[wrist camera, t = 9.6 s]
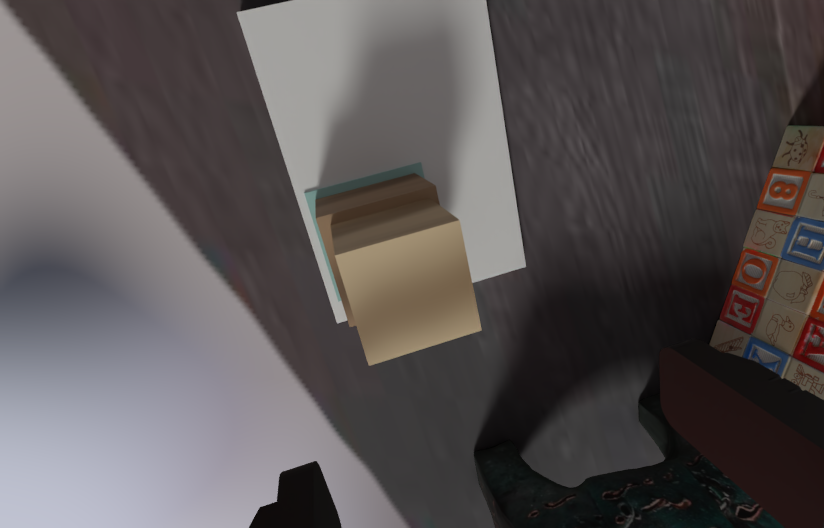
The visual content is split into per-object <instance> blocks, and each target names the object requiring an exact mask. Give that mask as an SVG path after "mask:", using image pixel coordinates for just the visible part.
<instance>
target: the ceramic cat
mask: <svg viewBox="0 0 824 528" xmlns="http://www.w3.org/2000/svg"><path fill="white" fill-rule="evenodd" d="M638 407H639V421H640V423H641V424H642V426H643V427H644V428H645V430H646V431H647V432H648V434H649V435H650V436H651V437H652V439H653V440H654V441H655V443H656V444H657V446H658V447H659V448H660V450H661V452H662V453H663V455H664V457H665V460H664V461H663V462H661V463H658V464H655V465H652V466H646V467H642V468H638V469H628V470H622V471H617V472H612V473H607V474H602V475H597V476H592V477H589V478H587V479H586V480H585V481H584V482H583V483H582V484H581V485H579V486H577V487H573V488H568V487H565V486H562V485H560V484H557V483H555V482H553V481H551V480H549V479H548V478H546V477H544V476H542V475H541V474H539V473H537V472H535V471H534V470H532V469H531V468H530V466H529V465H528V464H527V463H526V462H525V461H524V460H523V459H522V458H521V456H520V455H519V453H518V451H517V449H516V447H515V446H514V444H513V443H512V442H511V441H510V440H509V441H506V442H504V443H502V444H500V445H498V446H496V447H493V448H490V449H486V450H481V451H477V452H474V459H475V466H476V471H477V476H478V481H479V485H480V487H481V490H482V492H483V495H484V497H485V499H486V502H487V504H488V507H489V510H490V512H491V515H492V518H493V522H494V525H495V528H785V527H784V526H782V525H781V524H780V523H779V522H778V521H777V520H776V519H775V518H773V517H772V516H771V515H770V514H769V513H768V512H767V511H766V510H764V509H763V508H762V507H761V506H760V505H759V504H758V503H757V502H755V501H754V500H753V499H752V498H751V497H750V496H749V495H747V494H746V493H745V492H744V491H743V490H742V489H741V488H740V487H738V486H737V485H736V484H735V483H734V482H733V481H732V480H731V479H729V478H728V477H727V476H726V475H725V474H724V473H723V472H722V471H720V470H719V469H718V468H717V467H716V466H715V465H714V464H713V463H711V462H710V461H709V460H708V459H707V458H706V457H705V456H704V455H702V454H701V453H700V452H699V451H698V450H697V449H696V448H695V447H693V446H692V445H691V444H690V443H689V442H688V441H687V440H686V439H684V438H683V437H682V436H681V435H680V434H679V433H678V432H677V431H676V430H675V429H674V428H673V427H672V426H671V425H670V424H669V422H668V421H667V419H666V417H665V415H664V413H663V410H662V407H661V401H660V394H657V395H654V396H651V397H648V398H645V399H643V400H642V401H640V402H639V406H638Z"/></svg>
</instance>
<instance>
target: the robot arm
mask: <svg viewBox="0 0 824 528" xmlns="http://www.w3.org/2000/svg"><path fill="white" fill-rule="evenodd" d="M659 373H660V401H661V407H662V410H663V413H664V415H665V417H666V419H667V421H668V422H669V424H670V425H671V426H672V427H673V428H674V429H675V430H676V431H677V432H678V433H679V434H680V435H681V436H682V437H683V438H684V439H686V440H687V441H688V442H689V443H690V444H691V445H692V446H693V447H695V448H696V449H697V450H698V451H699V452H700V453H701V454H702V455H704V456H705V457H706V458H707V459H708V460H709V461H710V462H711V463H713V464H714V465H715V466H716V467H717V468H718V469H719V470H720V471H722V472H723V473H724V474H725V475H726V476H727V477H728V478H729V479H731V480H732V481H733V482H734V483H735V484H736V485H737V486H738V487H740V488H741V489H742V490H743V491H744V492H745V493H746V494H747V495H749V496H750V497H751V498H752V499H753V500H754V501H755V502H757V503H758V504H759V505H760V506H761V507H762V508H763V509H764V510H766V511H767V512H768V513H769V514H770V515H771V516H772V517H773V518H775V519H776V520H777V521H778V522H779V523H780V524H781V525H782V526H784V527H785V528H824V400H822V399H821V398H819V397H817V396H815V395H814V394H812V393H810V392H808V391H807V390H804V391H803V390H801V388H800V386H798V385H796V384H794V383H793V382H791V381H789V380H787V379H786V378H783V379H782V378H781V377H780V375H779V374H777V373H775V372H773V371H772V370H770V369H768V368H766V367H765V366H763V365H761V364H759V363H758V362H756V361H753V360H750V359H746V358H743V357H740V356H737V355H734V354H731V353H722V352H720V351H719V350H717V349H715V348H714V347H712V346H710V345H708V344H707V343H705V342H703V341H702V340H699V339H690V340H687V341H684V342H681V343H678V344H675V345H672V346H668V347H665V348H663V349H662V350H661V351H660V354H659ZM249 528H341V523H340V519H339V516H338V513H337V510H336V507H335V505H334V502H333V500H332V497H331V494H330V492H329V489H328V487H327V484H326V481H325V479H324V476H323V474H322V471H321V468H320V466H319V464H318V463H317V461H314V462H311V463H308V464H305V465H302V466H299V467H296V468H293V469H290V470H287V471H284V472H282V473H281V474H280V477H279V486H278V496H277V502H275V503H272V504H269V505H266V506H263V507H260V508H259V510H258V512H257V514H256V515H255V517H254V519H253V521H252V523H251V525H250V527H249Z"/></svg>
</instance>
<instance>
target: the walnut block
mask: <svg viewBox="0 0 824 528" xmlns="http://www.w3.org/2000/svg"><path fill="white" fill-rule="evenodd" d="M427 198H430V199H432V200H433V201H434V202H436V203H437V204H439V205H440V203H439V199H438V194H437V189H436V185H434V184H432V183H431V182H429V181H427V180H426V179H424V178H422V177H421V176H419V175H417V174H416V173H413V174H409V175H405V176H402V177H398V178H394V179H390V180H387V181H383V182H379V183H375V184H372V185H368V186H364V187H360V188H357V189H353V190H349V191H345V192H342V193H338V194H334V195H330V196H327V197H323V198H319V199H315V213H316V221H317V224H318V227H319V231H320V234H321V237H322V240H323V243H324V247H325V250H326V253H327V256H328V259H329V262H330V266H331V269H332V272H333V275H334V278H335V282H336V285H337V288H338V291H339V294H340V298H341V301H342V304H343V307H344V310H345V314H346V317H347V320H348V323H349V326H350V327H353V326H356V322H355V319H354V316H353V313H352V310H351V306H350V303H349V300H348V297H347V293H346V290H345V287H344V284H343V280H342V277H341V274H340V271H339V268H338V264H337V261H336V258H335V254H334V247H333V240H332V233H331V226H330V225H333V224H337V223H340V222H344V221H348V220H351V219H355V218H358V217H362V216H366V215H369V214H373V213H376V212H380V211H384V210H387V209H391V208H395V207H398V206H402V205H405V204H409V203H413V202H416V201H420V200H423V199H427Z"/></svg>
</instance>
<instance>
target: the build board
mask: <svg viewBox="0 0 824 528" xmlns="http://www.w3.org/2000/svg"><path fill="white" fill-rule="evenodd" d="M237 15H238V18H239V21H240V24H241V27H242V31H243V34H244V37H245V40H246V43H247V46H248V49H249V52H250V55H251V58H252V61H253V65H254V68H255V71H256V74H257V77H258V80H259V83H260V86H261V89H262V92H263V95H264V99H265V102H266V105H267V108H268V111H269V114H270V117H271V120H272V123H273V126H274V129H275V133H276V136H277V139H278V142H279V145H280V148H281V151H282V154H283V157H284V160H285V163H286V167H287V170H288V173H289V176H290V179H291V182H292V185H293V188H294V191H295V194H296V197H297V201H298V204H299V207H300V210H301V213H302V216H303V219H304V222H305V225H306V228H307V231H308V235H309V238H310V241H311V244H312V247H313V250H314V253H315V256H316V259H317V262H318V265H319V269H320V272H321V275H322V278H323V281H324V284H325V287H326V290H327V293H328V296H329V299H330V303H331V306H332V309H333V312H334V315H335V318H336V321H337V323H340V322H344V321H347V317H346V314H345V310H344V307H343V304H342V301H341V298H340V294H339V291H338V288H337V285H336V282H335V278H334V275H333V272H332V269H331V266H330V262H329V259H328V256H327V253H326V250H325V247H324V243H323V240H322V237H321V234H320V231H319V227H318V224H317V221H316V213H315V199H319V198H323V197H327V196H330V195H334V194H338V193H342V192H345V191H349V190H353V189H357V188H360V187H364V186H368V185H372V184H375V183H379V182H383V181H387V180H390V179H394V178H398V177H402V176H405V175H409V174H413V173H416V174H417V175H419V176H421V177H422V178H424V179H426V180H427V181H429V182H431V183H432V184H434V185H436V189H437V194H438V199H439V203H440V206H441V207H443V208H444V209H445V210H447V211H448V212H449V213H451V214H452V215H453V216H455V217H456V218H458V219H459V220H460V224H461V229H462V234H463V239H464V244H465V249H466V254H467V259H468V264H469V269H470V274H471V279H472V283H474V282H477V281H480V280H484V279H487V278H490V277H494V276H497V275H500V274H504V273H507V272H510V271H514V270H517V269H520V268H524V267H526V263H525V257H524V250H523V243H522V237H521V230H520V223H519V217H518V210H517V203H516V197H515V190H514V183H513V177H512V170H511V163H510V157H509V150H508V143H507V137H506V130H505V123H504V116H503V110H502V103H501V96H500V90H499V83H498V76H497V70H496V63H495V56H494V50H493V43H492V36H491V30H490V23H489V16H488V10H487V3H486V0H292V1H287V2H282V3H278V4H273V5H268V6H264V7H259V8H254V9H250V10H245V11H241V12H237Z"/></svg>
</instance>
